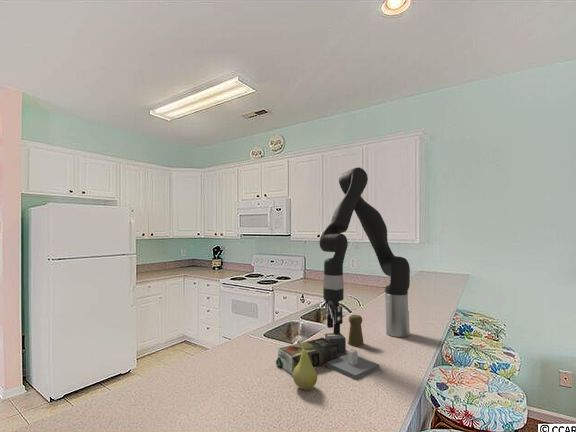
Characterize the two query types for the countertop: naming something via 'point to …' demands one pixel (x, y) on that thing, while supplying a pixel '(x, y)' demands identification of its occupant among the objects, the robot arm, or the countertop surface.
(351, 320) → the cork
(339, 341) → the knob
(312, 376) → the fruit
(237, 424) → the countertop surface
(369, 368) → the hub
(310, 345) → the juice carton
